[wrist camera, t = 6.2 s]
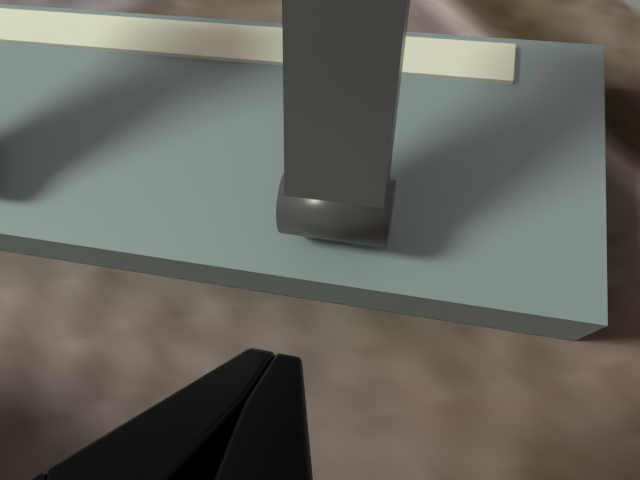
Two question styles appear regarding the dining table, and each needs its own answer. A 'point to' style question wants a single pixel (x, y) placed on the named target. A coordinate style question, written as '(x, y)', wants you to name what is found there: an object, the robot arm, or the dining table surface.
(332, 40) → the lever
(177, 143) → the switch panel
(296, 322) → the dining table surface
